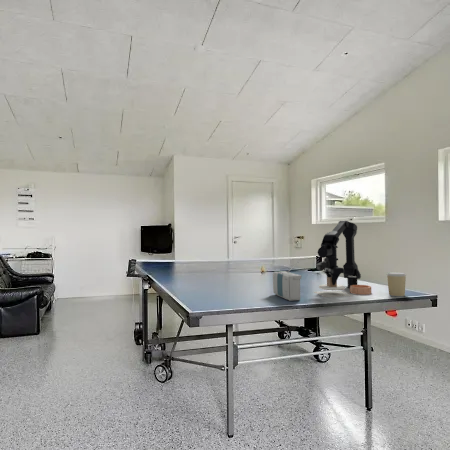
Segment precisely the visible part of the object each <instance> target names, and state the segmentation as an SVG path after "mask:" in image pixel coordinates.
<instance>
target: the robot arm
mask: <svg viewBox="0 0 450 450" xmlns="http://www.w3.org/2000/svg"><path fill="white" fill-rule="evenodd" d="M357 233H358V226H357V224H356V223H354V222H351V221H348V220H338V223H337V225H335V227H334V228H333V229H332V231H329V232H327V233H325V235H324V236H323V237H322V238H323V239H321V240H322V241H321V244H320V247H319V248H318V250H317V255H318V256H319V257H320V258H324V259H323V261H320V262H318V263H316V264H315V267H316V270H318V271H322V272H323V273H324V274H325V275H326V278H327V277H331V278H332V285H335V283H336V281H338V279H339V278H340V275H341V274H343V278H344V279H347V280H346V281H347V286H346V288H347V289H350V285H358V280H360V279H361V277H362V276H361V272H360V270H359V268H358V264H357V263H356V261H355V237H356V236H357ZM341 234H342V235H343V237H344V238H345V258H346V259H345V263H344V264H343V265H342V267H341V266H339V265H338V262H337V261H339V258H338V255H337V254H338V253H337V250H338V248H339V247H338V246H337V244H338V243H339V241H340V236H341Z"/></svg>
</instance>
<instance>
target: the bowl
mask: <svg viewBox="0 0 450 450" xmlns="http://www.w3.org/2000/svg"><path fill="white" fill-rule="evenodd" d="M349 293H351V294H354V295H372V285H368V284H367V285H366V284H357V285H350V288H349Z"/></svg>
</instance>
